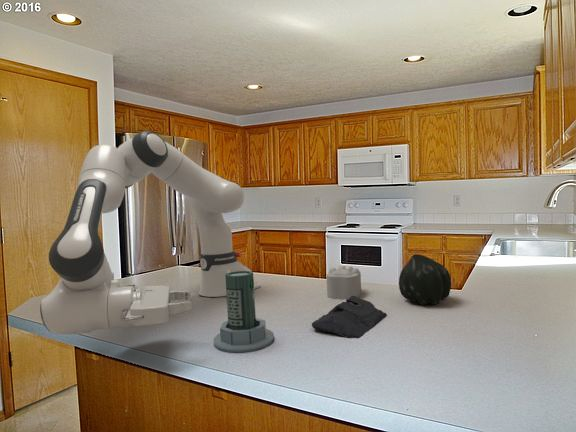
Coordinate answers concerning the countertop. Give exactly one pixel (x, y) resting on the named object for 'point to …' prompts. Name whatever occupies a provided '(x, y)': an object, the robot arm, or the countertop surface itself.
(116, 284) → the eye dropper bottle
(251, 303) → the can
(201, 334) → the countertop surface
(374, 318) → the dark slate chunk
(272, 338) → the collar seat
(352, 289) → the lumpy-topped squat cylinder
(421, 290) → the squash
